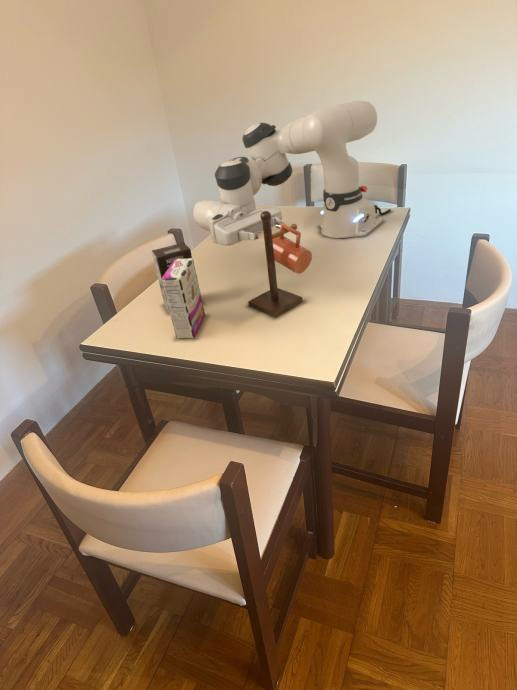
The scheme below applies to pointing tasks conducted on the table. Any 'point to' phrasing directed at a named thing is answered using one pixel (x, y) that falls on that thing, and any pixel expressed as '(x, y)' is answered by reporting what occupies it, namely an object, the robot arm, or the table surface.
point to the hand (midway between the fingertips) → (269, 230)
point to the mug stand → (273, 277)
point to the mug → (291, 252)
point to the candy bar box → (183, 298)
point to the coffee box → (168, 261)
